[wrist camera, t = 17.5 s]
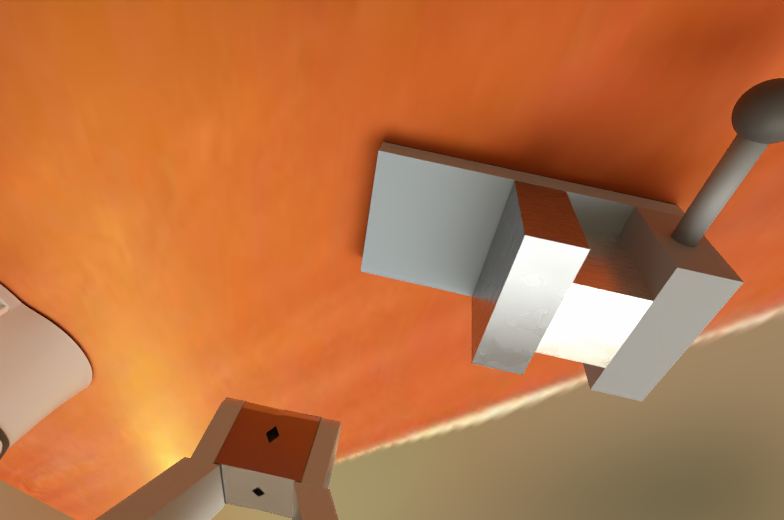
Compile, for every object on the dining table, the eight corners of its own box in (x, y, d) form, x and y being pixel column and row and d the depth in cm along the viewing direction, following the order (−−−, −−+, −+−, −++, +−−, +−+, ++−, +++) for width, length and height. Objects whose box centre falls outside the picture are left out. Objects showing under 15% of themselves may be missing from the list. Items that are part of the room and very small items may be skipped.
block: (523, 285, 28) (534, 351, 23) (552, 221, 25) (571, 282, 20) (582, 298, 28) (605, 368, 23) (618, 236, 25) (653, 301, 20)
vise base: (364, 259, 31) (338, 330, 25) (405, -9, 21) (378, 2, 15) (607, 314, 30) (641, 401, 24) (767, 65, 20) (893, 108, 14)
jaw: (471, 297, 29) (471, 363, 24) (514, 180, 24) (525, 235, 19) (514, 306, 29) (522, 374, 24) (566, 191, 24) (590, 249, 19)
